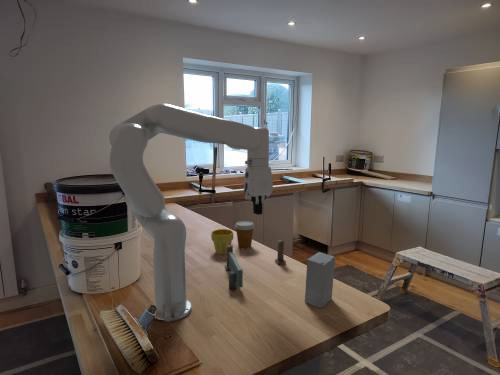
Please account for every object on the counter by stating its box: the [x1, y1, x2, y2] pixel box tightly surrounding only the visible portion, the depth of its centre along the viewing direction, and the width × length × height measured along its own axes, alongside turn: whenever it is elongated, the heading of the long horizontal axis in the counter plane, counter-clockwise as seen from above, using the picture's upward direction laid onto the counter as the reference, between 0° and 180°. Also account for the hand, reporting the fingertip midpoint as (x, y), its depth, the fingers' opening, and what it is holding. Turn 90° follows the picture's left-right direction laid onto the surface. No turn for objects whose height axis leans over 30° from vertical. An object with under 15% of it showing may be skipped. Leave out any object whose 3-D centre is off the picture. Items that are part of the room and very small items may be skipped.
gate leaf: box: [229, 251, 244, 288], centre depth 124 cm, size 18×2×7 cm, turn 14°
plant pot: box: [210, 228, 234, 255], centre depth 154 cm, size 10×10×10 cm
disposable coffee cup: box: [234, 220, 255, 250], centre depth 160 cm, size 10×10×12 cm
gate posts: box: [224, 239, 287, 291], centre depth 129 cm, size 28×20×10 cm
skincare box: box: [304, 251, 336, 309], centre depth 108 cm, size 8×7×16 cm
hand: (257, 213), depth 117 cm, fingers closed
